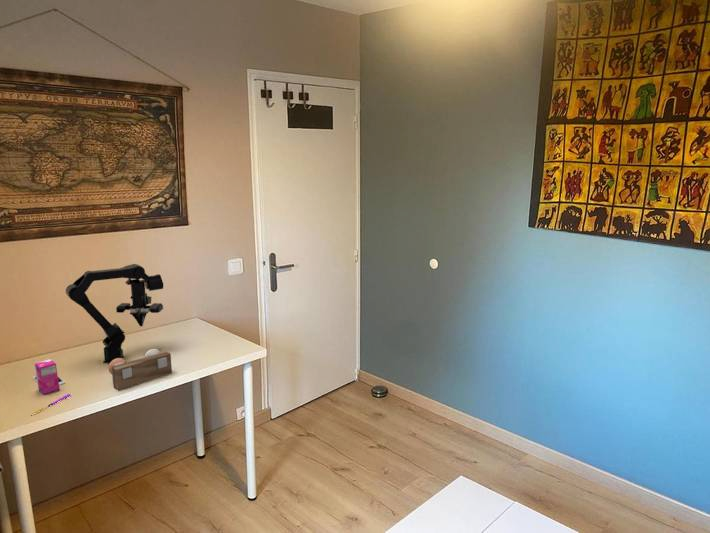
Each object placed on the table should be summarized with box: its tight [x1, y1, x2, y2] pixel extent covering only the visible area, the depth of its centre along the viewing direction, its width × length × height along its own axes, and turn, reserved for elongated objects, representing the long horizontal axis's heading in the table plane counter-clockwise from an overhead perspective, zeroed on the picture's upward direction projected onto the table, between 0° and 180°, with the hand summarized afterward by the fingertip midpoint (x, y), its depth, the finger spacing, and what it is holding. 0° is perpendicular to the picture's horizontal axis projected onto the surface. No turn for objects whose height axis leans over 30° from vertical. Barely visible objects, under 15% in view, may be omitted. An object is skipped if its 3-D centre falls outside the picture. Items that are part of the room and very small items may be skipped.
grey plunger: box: [143, 348, 167, 369], centre depth 207 cm, size 9×7×7 cm
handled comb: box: [33, 393, 71, 414], centre depth 181 cm, size 3×1×16 cm
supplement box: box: [34, 358, 61, 396], centre depth 192 cm, size 6×6×12 cm
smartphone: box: [32, 375, 66, 386], centre depth 201 cm, size 7×15×1 cm, turn 48°
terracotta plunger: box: [107, 358, 132, 379], centre depth 197 cm, size 9×7×7 cm
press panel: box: [111, 350, 173, 392], centre depth 201 cm, size 4×22×9 cm, turn 137°
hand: (141, 326), depth 227 cm, fingers closed
